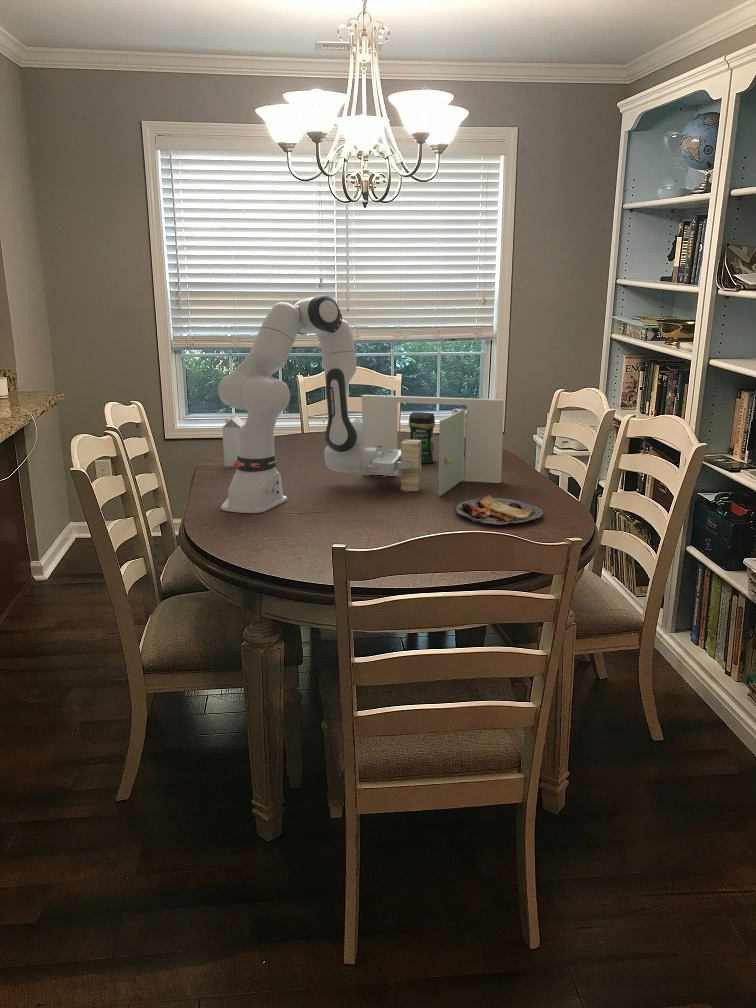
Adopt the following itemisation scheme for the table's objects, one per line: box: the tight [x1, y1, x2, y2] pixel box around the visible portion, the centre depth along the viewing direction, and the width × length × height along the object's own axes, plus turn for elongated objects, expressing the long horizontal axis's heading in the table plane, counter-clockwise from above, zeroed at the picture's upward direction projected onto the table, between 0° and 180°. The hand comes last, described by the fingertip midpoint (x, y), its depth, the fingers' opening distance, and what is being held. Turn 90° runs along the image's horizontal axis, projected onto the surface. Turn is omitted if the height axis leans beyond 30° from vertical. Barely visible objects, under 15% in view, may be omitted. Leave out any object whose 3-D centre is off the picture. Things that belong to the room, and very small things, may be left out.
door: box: [437, 408, 466, 496], centre depth 262 cm, size 3×22×24 cm, turn 156°
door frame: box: [361, 394, 505, 484], centre depth 274 cm, size 2×48×28 cm, turn 76°
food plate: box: [454, 494, 543, 526], centre depth 236 cm, size 25×23×4 cm
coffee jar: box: [408, 411, 436, 464], centre depth 300 cm, size 10×8×19 cm
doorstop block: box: [400, 438, 422, 492], centre depth 263 cm, size 6×6×16 cm
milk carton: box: [221, 412, 246, 467], centre depth 295 cm, size 7×7×19 cm
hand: (413, 462), depth 262 cm, fingers closed on doorstop block, 5 cm apart
